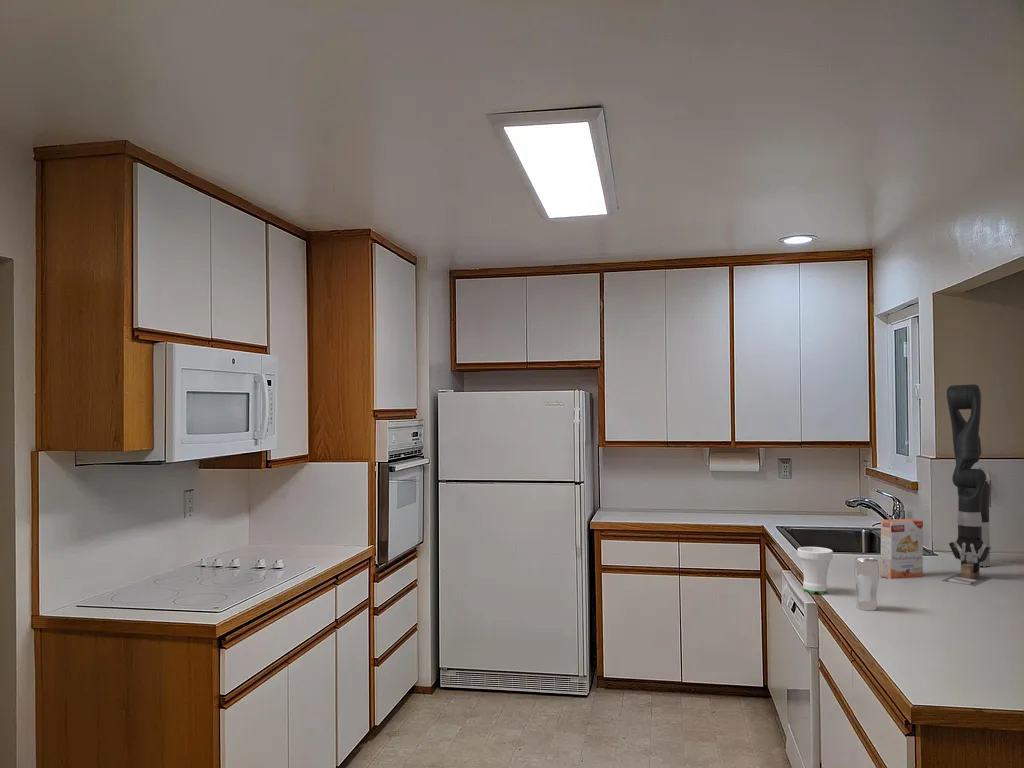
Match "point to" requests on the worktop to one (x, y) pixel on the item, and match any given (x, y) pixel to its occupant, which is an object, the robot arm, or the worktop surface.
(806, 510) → the worktop surface
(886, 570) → the cracker box
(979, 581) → the mat
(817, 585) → the cup
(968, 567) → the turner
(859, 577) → the beer glass
